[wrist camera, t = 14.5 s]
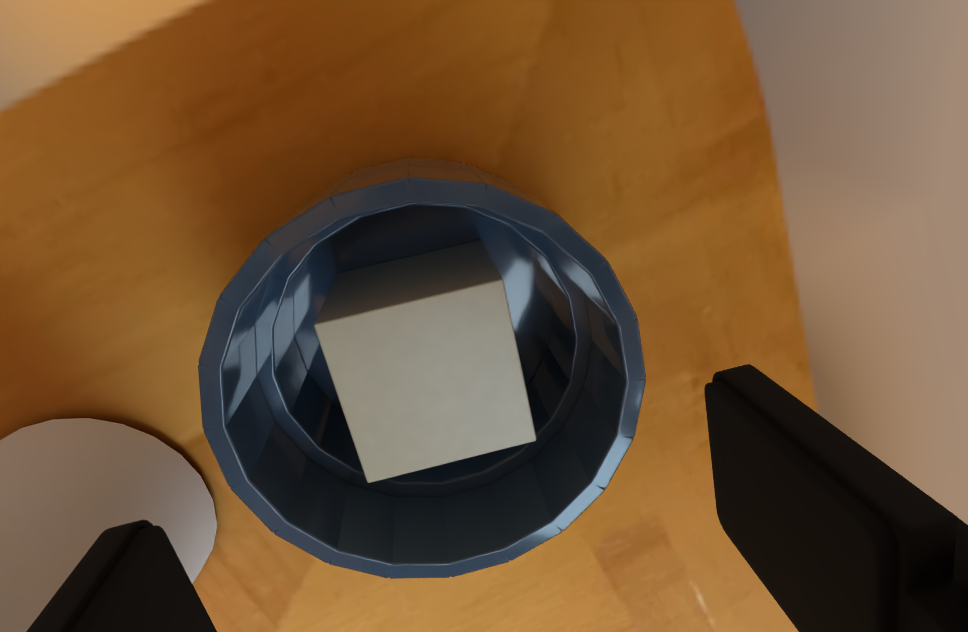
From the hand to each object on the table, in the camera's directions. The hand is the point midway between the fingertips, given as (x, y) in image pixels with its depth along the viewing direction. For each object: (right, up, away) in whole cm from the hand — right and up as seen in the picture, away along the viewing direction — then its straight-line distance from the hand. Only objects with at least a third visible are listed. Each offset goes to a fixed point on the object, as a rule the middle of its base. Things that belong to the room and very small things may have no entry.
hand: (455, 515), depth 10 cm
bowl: (-1, +3, +9) cm, 10 cm away
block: (-1, +3, +9) cm, 9 cm away
